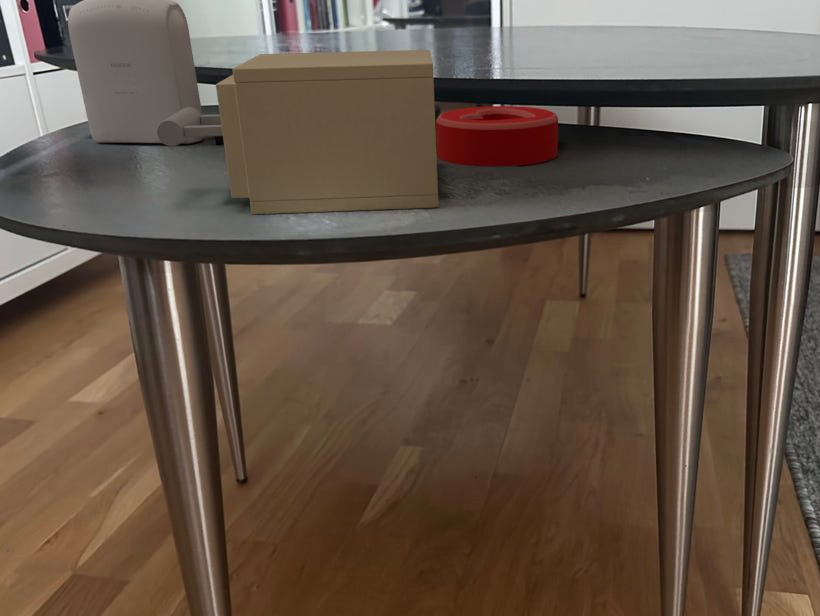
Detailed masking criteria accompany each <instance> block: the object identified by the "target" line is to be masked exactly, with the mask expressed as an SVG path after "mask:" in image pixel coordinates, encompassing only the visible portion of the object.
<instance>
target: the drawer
mask: <svg viewBox="0 0 820 616" xmlns="http://www.w3.org/2000/svg"><path fill="white" fill-rule="evenodd" d="M234 84H235V82H234V78H233V74H231V75H229V76H228V77H226V78H225V79H223V80H221V81H219V82H218V83H215V89H216V97H217V98H216V99H217V104H218V111H219V114H217V113H216V114H202V115H201V114H200V112H199V111H198V110H196V109H195V108H192V107H186V108H184V109H182V110H180V111H179V112H177V113H175V114H174V115H172V116H170V117H169V118H167V119H165V120H164V121H162V122H160V123H159V125H158V127H157V136H158V138H159V140H160V141H161V142H162V143H161V144H163V145H165V146H167V147H176V146H179V145H181V144H180V143H181V142H182V141H184V140H185V139H186V138H188V137H204V138H205V137H215V136H223V140H224V145H223V146H224V154H225V160H226V167H227V175H228V181H229V188H230V189H229V190H230V196H231V199H250V198H249V191H248V183H247V176H246V168H245V161H244V153H243V146H242V138H241V131H240V123H239V116H238V108H237V101H236V93H235V86H234Z"/></svg>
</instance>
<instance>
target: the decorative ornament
mask: <svg viewBox="0 0 820 616" xmlns="http://www.w3.org/2000/svg"><path fill="white" fill-rule="evenodd" d="M435 128H436V154H437V158H438V159H439V160H440V161H443V162H446V163H450V164H453V165H454V164H455V165H462V166H471V167H516V166H517V167H518V166H519V167H520V166H529V165H533V164H539V163H544V162H548V161H551V160H553V159H555V158H556V157H557V156H558V153H559V152H558V151H559V147H558V146H559V145H558V144H559V117H558V115H557V114H556V113H555V112H553V111H552V110H548V109H545V108H539V107H530V106H516V105H515V106H513V105H511V106H510V105H506V106H505V105H502V106H501V105H495V106H493V105H491V106H477V107H476V106H475V107H474V106H473V107H466V108H465V107H464V108H458V109H453V110H448V111H445V112H442V113H441V114H439V115H438V116H437V118H436V119H435Z"/></svg>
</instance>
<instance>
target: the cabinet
mask: <svg viewBox="0 0 820 616" xmlns="http://www.w3.org/2000/svg"><path fill="white" fill-rule="evenodd" d="M432 58H433V57H432V54H431V50H430V49H412V50H411V49H405V50H403V49H402V50H365V51H329V52H328V51H326V52H323V51H322V52H292V53H289V52H288V53H287V52H285V53H284V52H283V53H260V54H258V55H256V56H254V57H252V58H250V59H248V60H246V61H244V62H242V63H240V64H239V65H237V66H235V67H233V68H232V75H233V78H234V82H235V84H234V86H235V93H236V101H237V108H238V116H239V123H240V131H241V138H242V146H243V153H244V161H245V168H246V176H247V183H248V191H249V198H248V199H249V201H250V202H249V205H250V213H251V215H269V214H291V213H292V214H296V213H297V214H298V213H323V212H324V213H325V212H350V211H351V212H353V211H355V212H356V211H377V210H379V211H381V210H404V209H405V210H407V209H433V208H434V209H435V208H439V205H440V204H439V184H438V183H439V182H438V181H439V179H438V161H437V160H438V159H437V158H438V155H437V130H436V105H435V103H436V102H435V82H434V81H435V79H434V63H433V62H434V61H433V59H432Z"/></svg>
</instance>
